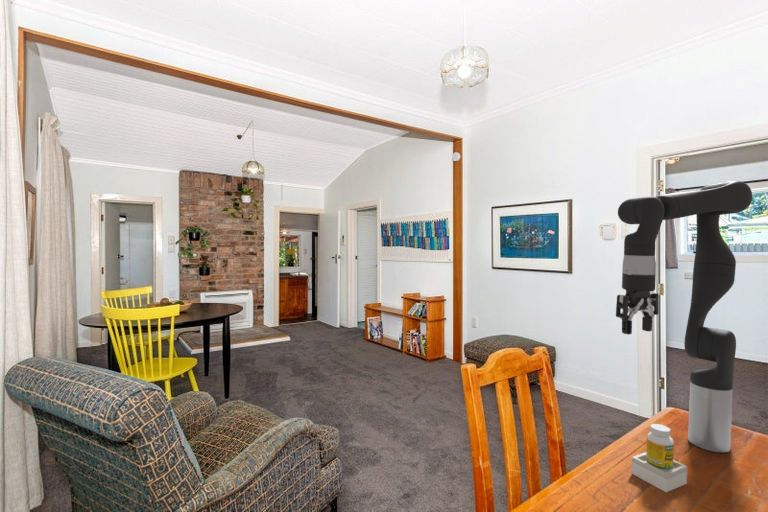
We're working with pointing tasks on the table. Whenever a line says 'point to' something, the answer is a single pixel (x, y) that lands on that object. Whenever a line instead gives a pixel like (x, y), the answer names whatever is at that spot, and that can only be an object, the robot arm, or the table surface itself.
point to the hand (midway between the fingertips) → (636, 332)
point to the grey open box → (659, 473)
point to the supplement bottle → (660, 447)
